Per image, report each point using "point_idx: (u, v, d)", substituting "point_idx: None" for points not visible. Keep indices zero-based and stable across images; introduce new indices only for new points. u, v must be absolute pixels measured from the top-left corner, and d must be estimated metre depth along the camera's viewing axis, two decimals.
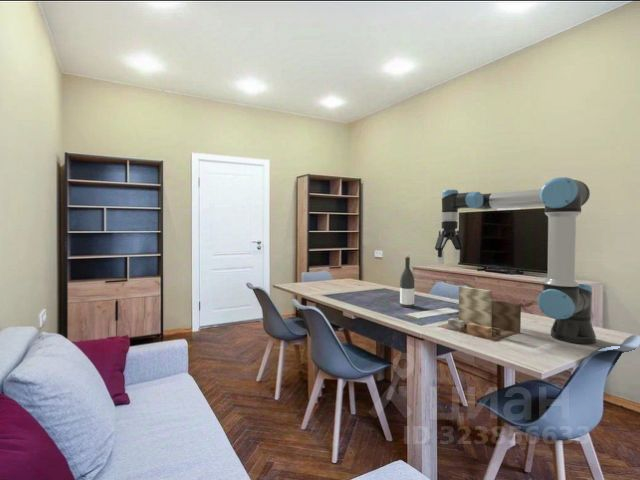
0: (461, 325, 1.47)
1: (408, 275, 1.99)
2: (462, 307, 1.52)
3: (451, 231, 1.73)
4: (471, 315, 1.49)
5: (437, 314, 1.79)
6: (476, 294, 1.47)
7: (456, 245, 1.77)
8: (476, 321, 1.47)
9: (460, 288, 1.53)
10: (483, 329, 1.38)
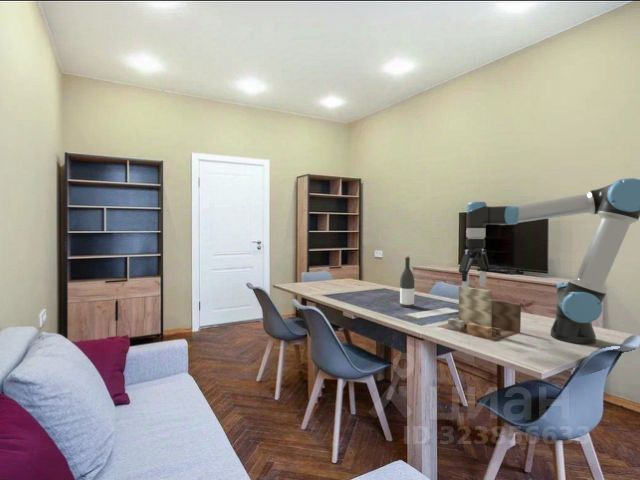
0: (461, 325, 1.47)
1: (408, 275, 1.99)
2: (462, 307, 1.52)
3: (477, 250, 1.47)
4: (471, 315, 1.49)
5: (437, 314, 1.79)
6: (476, 294, 1.47)
7: (482, 266, 1.51)
8: (476, 321, 1.47)
9: (460, 288, 1.53)
10: (483, 329, 1.38)
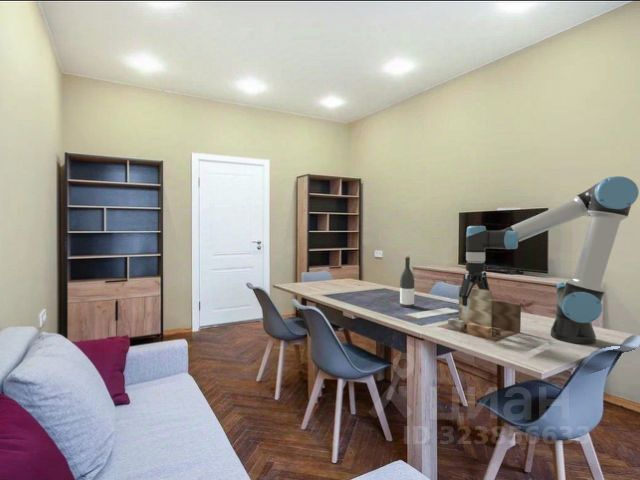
0: (461, 325, 1.47)
1: (408, 275, 1.99)
2: None
3: (477, 274, 1.47)
4: (471, 315, 1.49)
5: (437, 314, 1.79)
6: (476, 294, 1.47)
7: None
8: (476, 321, 1.47)
9: (460, 288, 1.53)
10: (483, 329, 1.38)
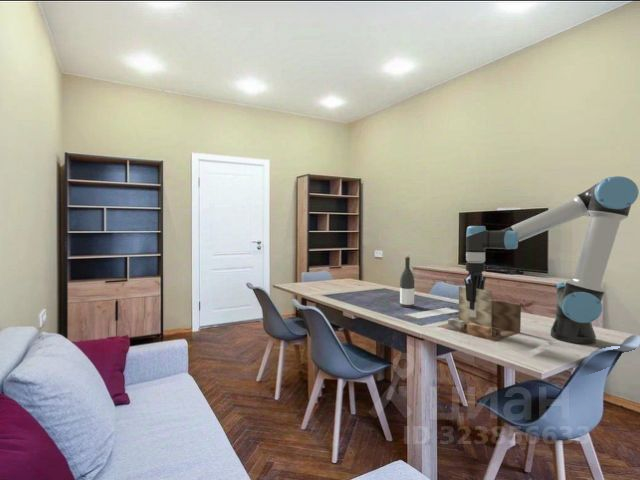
0: (461, 325, 1.47)
1: (408, 275, 1.99)
2: (462, 307, 1.52)
3: (477, 274, 1.47)
4: None
5: (437, 314, 1.79)
6: (476, 294, 1.47)
7: None
8: (476, 321, 1.47)
9: (460, 288, 1.53)
10: (483, 329, 1.38)
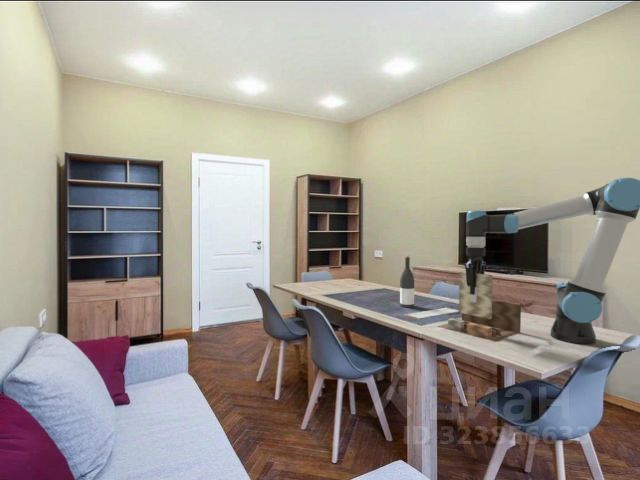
0: (461, 325, 1.47)
1: (408, 275, 1.99)
2: (463, 292, 1.52)
3: (478, 259, 1.47)
4: None
5: (437, 314, 1.79)
6: (476, 279, 1.46)
7: None
8: (477, 305, 1.46)
9: (460, 273, 1.52)
10: (483, 329, 1.38)
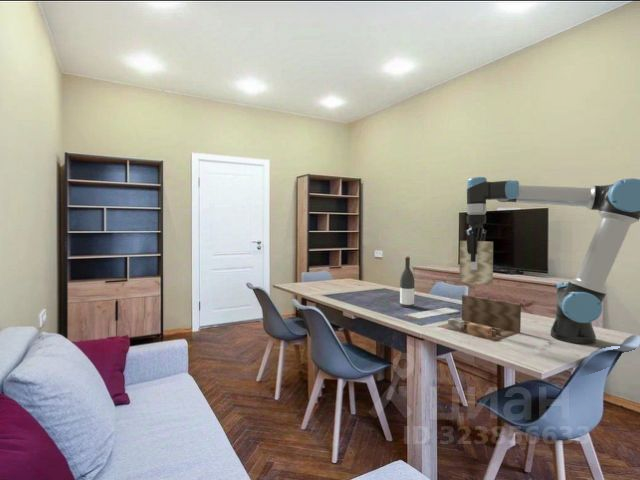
0: (461, 325, 1.47)
1: (408, 275, 1.99)
2: (463, 261, 1.51)
3: (478, 226, 1.46)
4: None
5: (437, 314, 1.79)
6: (477, 246, 1.46)
7: None
8: (477, 273, 1.46)
9: (461, 242, 1.52)
10: (483, 329, 1.38)
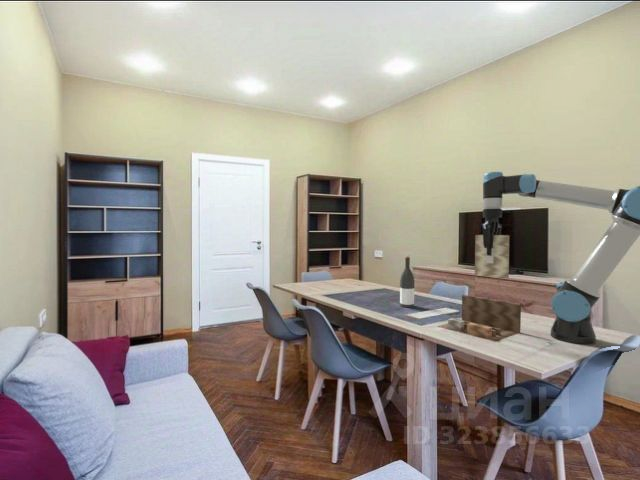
0: (461, 325, 1.47)
1: (408, 275, 1.99)
2: (479, 255, 1.53)
3: (494, 220, 1.48)
4: None
5: (437, 314, 1.79)
6: (493, 240, 1.48)
7: None
8: (493, 266, 1.48)
9: (476, 236, 1.54)
10: (483, 329, 1.38)
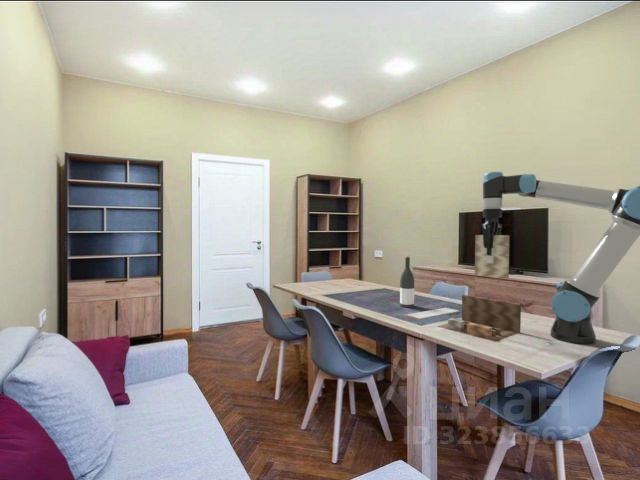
0: (461, 325, 1.47)
1: (408, 275, 1.99)
2: (479, 255, 1.53)
3: (494, 220, 1.48)
4: None
5: (437, 314, 1.79)
6: (493, 240, 1.48)
7: None
8: (493, 266, 1.48)
9: (476, 236, 1.54)
10: (483, 329, 1.38)
